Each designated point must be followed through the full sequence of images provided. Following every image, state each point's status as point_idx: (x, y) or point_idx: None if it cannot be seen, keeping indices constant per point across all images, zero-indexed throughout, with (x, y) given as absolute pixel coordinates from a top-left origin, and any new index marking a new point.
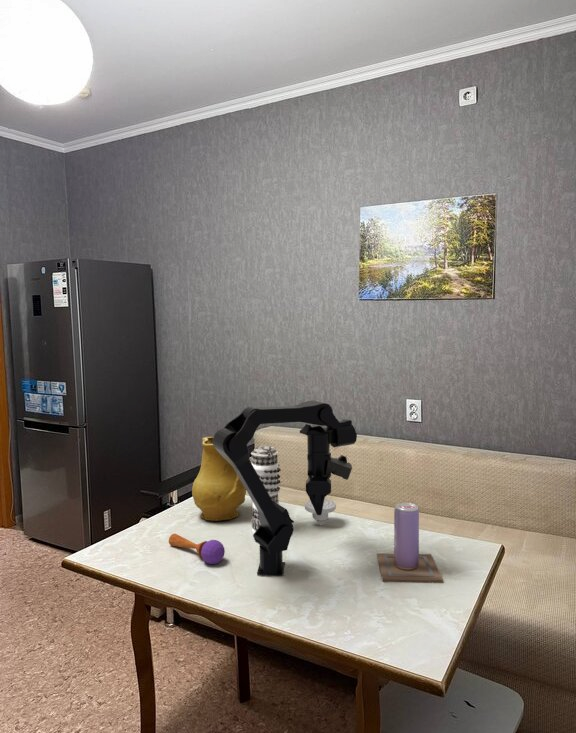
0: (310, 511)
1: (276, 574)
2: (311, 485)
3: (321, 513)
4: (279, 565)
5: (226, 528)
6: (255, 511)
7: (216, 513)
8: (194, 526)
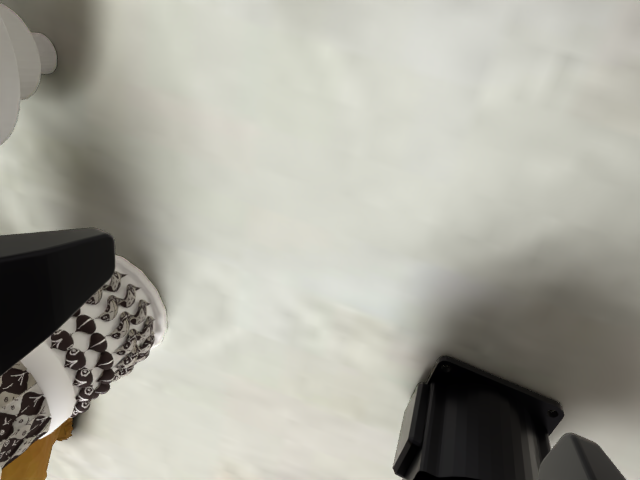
0: (5, 134)
1: (550, 430)
2: None
3: (614, 465)
4: (530, 434)
5: (112, 404)
6: (74, 413)
7: (51, 441)
8: (104, 464)
